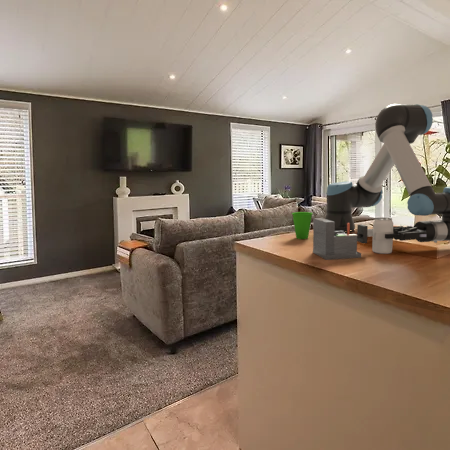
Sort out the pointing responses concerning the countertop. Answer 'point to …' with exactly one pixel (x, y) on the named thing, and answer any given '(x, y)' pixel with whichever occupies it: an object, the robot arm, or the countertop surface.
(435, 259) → the countertop surface
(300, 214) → the cup
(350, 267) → the countertop surface
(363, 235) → the plunger
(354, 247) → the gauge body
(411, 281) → the countertop surface
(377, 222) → the can
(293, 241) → the countertop surface
